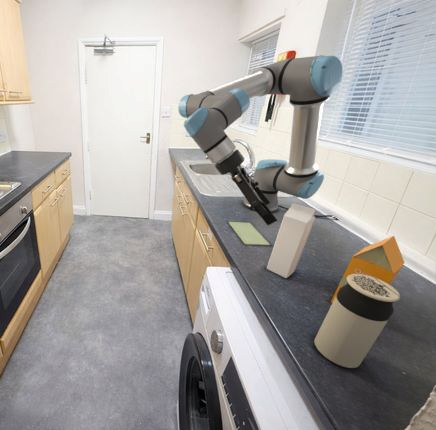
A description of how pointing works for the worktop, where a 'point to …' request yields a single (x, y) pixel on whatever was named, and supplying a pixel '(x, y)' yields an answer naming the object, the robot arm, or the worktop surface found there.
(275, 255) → the milk
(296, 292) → the worktop surface
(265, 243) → the sage mat
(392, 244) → the orange juice
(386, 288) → the travel mug
